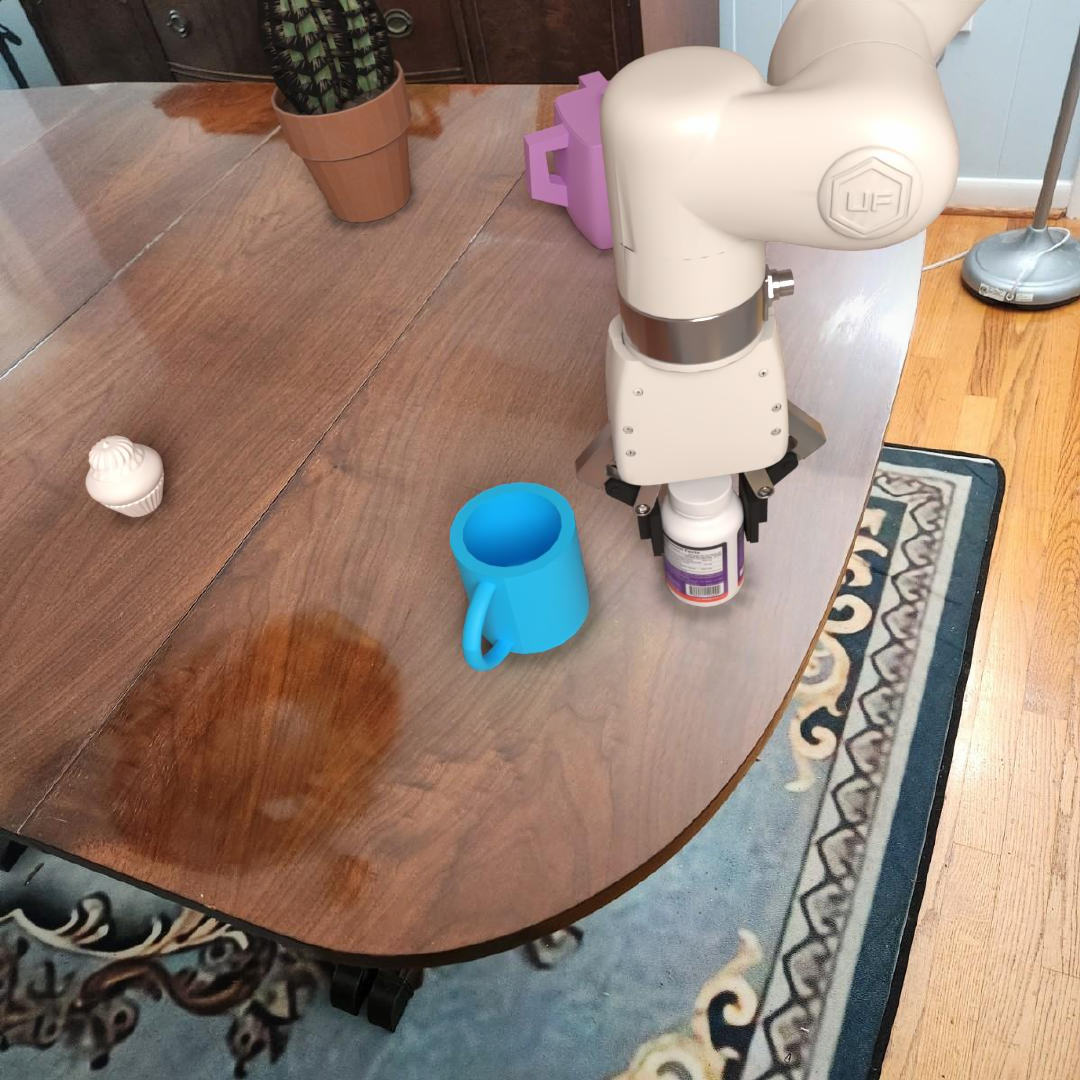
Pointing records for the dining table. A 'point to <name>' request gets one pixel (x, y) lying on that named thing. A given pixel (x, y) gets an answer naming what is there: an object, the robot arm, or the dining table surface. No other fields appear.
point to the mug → (518, 572)
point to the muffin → (125, 476)
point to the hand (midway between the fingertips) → (702, 531)
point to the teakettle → (574, 161)
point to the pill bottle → (703, 540)
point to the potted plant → (340, 101)
